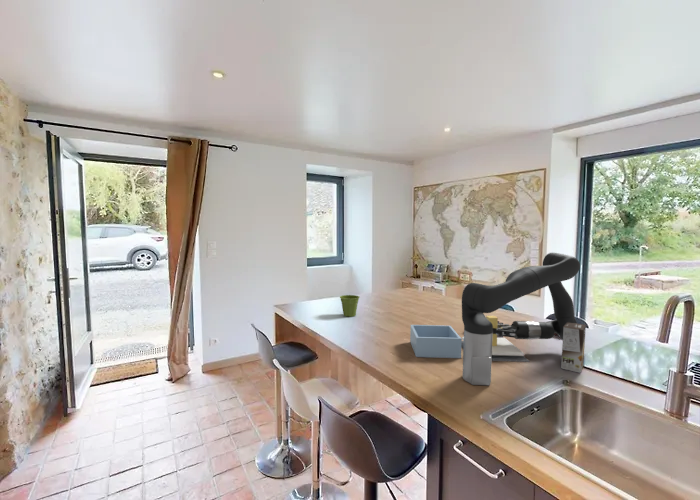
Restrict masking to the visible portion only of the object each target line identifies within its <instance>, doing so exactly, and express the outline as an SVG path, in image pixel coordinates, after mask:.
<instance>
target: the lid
mask: <svg viewBox="0 0 700 500" xmlns="http://www.w3.org/2000/svg"><path fill="white" fill-rule="evenodd" d="M485 317H486V318H487V319H488V320H489V321H490V322H491V323H492V325H493V328H495V329H496V328H497V326H498V321H499V318H498V317H497V316H496V315H485ZM461 338H462V341H464V336H462V337H461ZM492 355H515V356H524V357H525V353H524V351H523V350H521V349H519V347H517V346H516V345H515V344H513V343H512V342H511V341H510V340H508V339H507V338H506V337H503V338H497V334H496V333H495V334H493V339H492Z"/></svg>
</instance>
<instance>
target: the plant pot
mask: <svg viewBox="0 0 700 500" xmlns="http://www.w3.org/2000/svg"><path fill="white" fill-rule="evenodd" d="M360 298H361V297H360V296H359V295H357V294H356V295H355V294H345V295H340V296H339V299H340V301H341V307H342V313H343V314H342V315H343V316H344V317H345V318H346V317H350V318H352V317H356V315H357V308H358V303H359V300H360Z"/></svg>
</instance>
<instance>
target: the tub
mask: <svg viewBox="0 0 700 500" xmlns="http://www.w3.org/2000/svg"><path fill="white" fill-rule="evenodd" d="M409 332H410V336H409V337H410V340H409V341H410V345H411V347H412V350H413V352H414V355H415V357H416V358H440V359H441V358H442V359H444V358H445V359H446V358H447V359H462V346H461V345H462V341H463V339H462V337H461V336H460V335H459V334H458V333H457V331H456V330H455V329H454V328H453V327H452V325H442V324H441V325H439V324H438V325H436V324H410V331H409Z"/></svg>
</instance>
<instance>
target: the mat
mask: <svg viewBox="0 0 700 500" xmlns="http://www.w3.org/2000/svg"><path fill="white" fill-rule="evenodd" d="M463 347H464V341H463V340H462V345H461V349H463ZM492 362H517V363H518V362H524V363H529V362H530V360H529V359H528V358H526V357H525V355H524V356H515V355H492Z"/></svg>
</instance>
